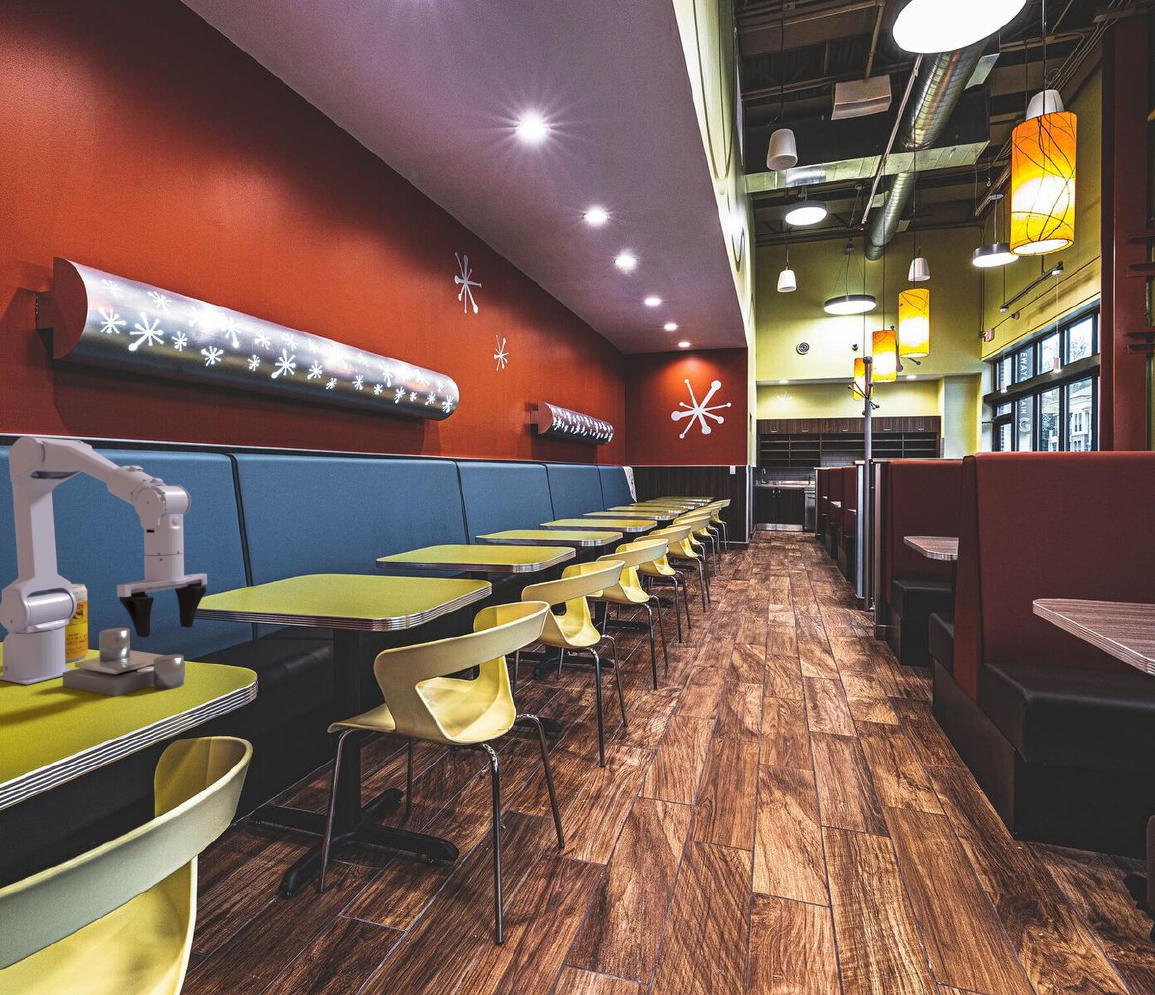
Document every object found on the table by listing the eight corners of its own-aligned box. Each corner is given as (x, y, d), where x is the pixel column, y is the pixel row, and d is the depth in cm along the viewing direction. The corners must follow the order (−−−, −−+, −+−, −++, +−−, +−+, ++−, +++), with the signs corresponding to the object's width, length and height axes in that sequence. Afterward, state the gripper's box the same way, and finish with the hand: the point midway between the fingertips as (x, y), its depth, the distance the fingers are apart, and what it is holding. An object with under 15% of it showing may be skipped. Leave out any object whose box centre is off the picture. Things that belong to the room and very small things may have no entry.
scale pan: (75, 667, 107) (74, 662, 107) (128, 654, 116) (128, 650, 116) (115, 674, 103) (115, 669, 103) (168, 660, 112) (168, 655, 112)
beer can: (65, 664, 119) (64, 588, 119) (40, 663, 121) (39, 587, 120) (95, 656, 125) (94, 584, 125) (71, 654, 127) (70, 583, 126)
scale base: (62, 686, 106) (62, 669, 106) (134, 667, 117) (134, 652, 117) (115, 696, 101) (114, 678, 101) (184, 675, 112) (184, 659, 112)
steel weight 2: (147, 688, 105) (147, 659, 105) (172, 681, 109) (172, 653, 109) (165, 691, 104) (164, 662, 103) (189, 683, 108) (189, 655, 108)
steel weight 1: (95, 659, 109) (94, 631, 109) (123, 653, 113) (123, 626, 113) (105, 662, 107) (105, 634, 107) (134, 657, 111) (133, 629, 111)
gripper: (136, 559, 98) (137, 643, 98) (218, 550, 112) (219, 624, 112) (108, 557, 101) (109, 639, 101) (191, 549, 114) (192, 621, 114)
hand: (165, 631), depth 106 cm, fingers open, 7 cm apart
